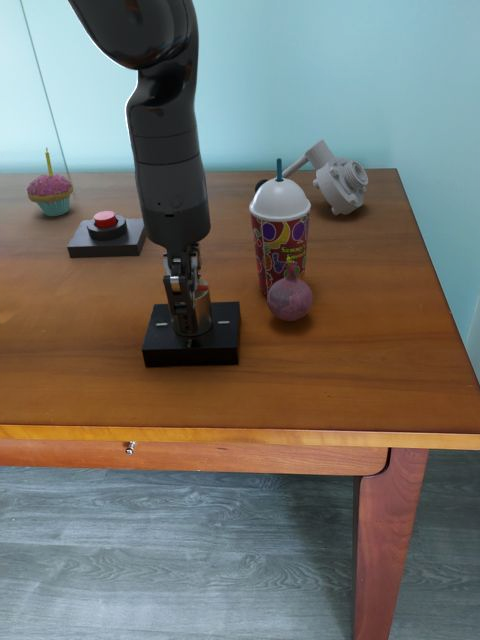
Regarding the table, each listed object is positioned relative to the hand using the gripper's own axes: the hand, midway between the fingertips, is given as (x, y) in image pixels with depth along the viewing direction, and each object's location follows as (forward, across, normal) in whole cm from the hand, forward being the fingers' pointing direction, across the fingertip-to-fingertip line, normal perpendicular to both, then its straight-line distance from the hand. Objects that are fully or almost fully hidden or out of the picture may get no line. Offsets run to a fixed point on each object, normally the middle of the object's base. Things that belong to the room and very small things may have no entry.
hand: (192, 317), depth 69 cm
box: (+4, -29, -18) cm, 34 cm away
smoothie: (+4, -12, +12) cm, 18 cm away
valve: (+4, -41, +18) cm, 45 cm away
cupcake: (+4, -43, -32) cm, 54 cm away
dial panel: (+4, 0, 0) cm, 4 cm away
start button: (0, -29, -18) cm, 34 cm away
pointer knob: (+1, 0, 0) cm, 1 cm away
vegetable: (+4, -4, +13) cm, 14 cm away
